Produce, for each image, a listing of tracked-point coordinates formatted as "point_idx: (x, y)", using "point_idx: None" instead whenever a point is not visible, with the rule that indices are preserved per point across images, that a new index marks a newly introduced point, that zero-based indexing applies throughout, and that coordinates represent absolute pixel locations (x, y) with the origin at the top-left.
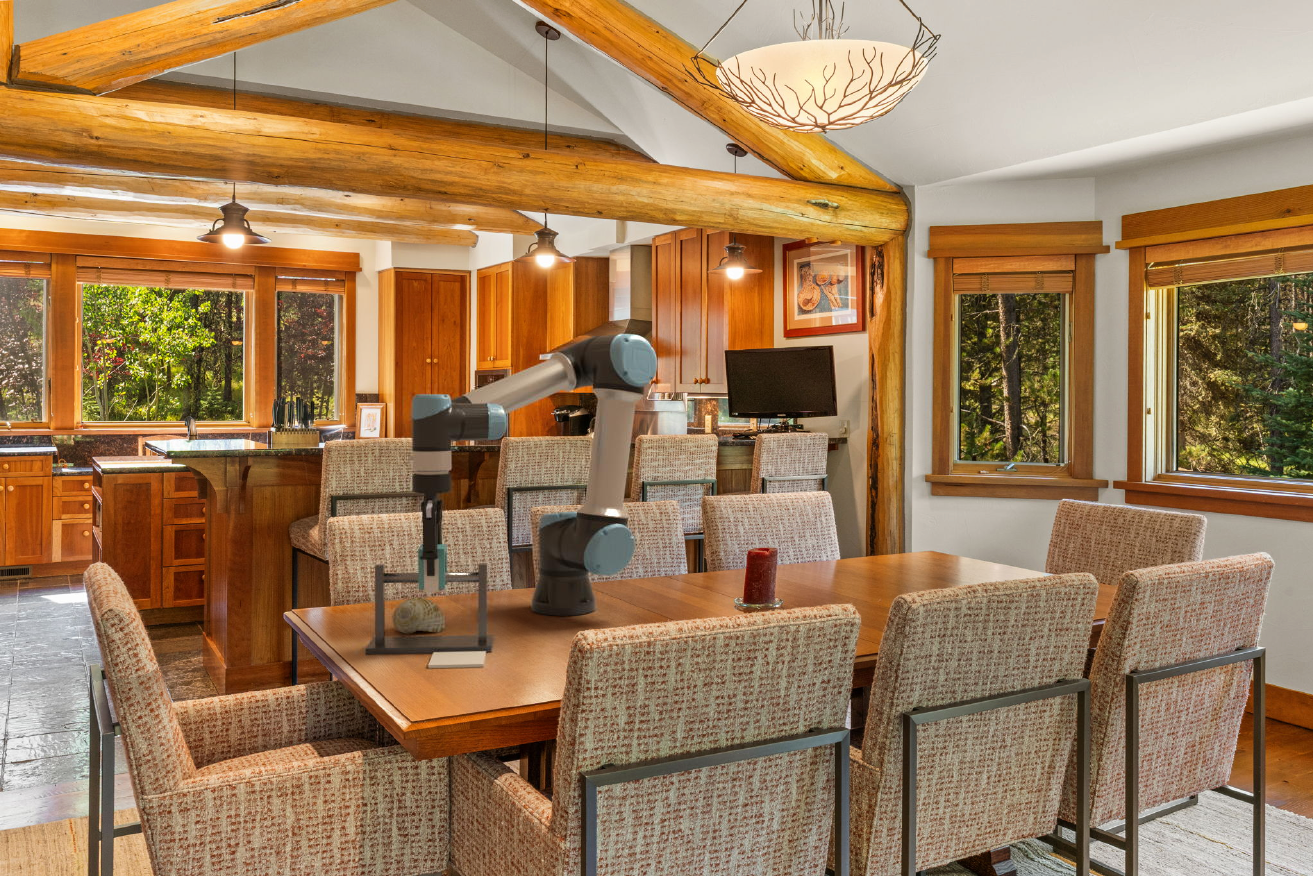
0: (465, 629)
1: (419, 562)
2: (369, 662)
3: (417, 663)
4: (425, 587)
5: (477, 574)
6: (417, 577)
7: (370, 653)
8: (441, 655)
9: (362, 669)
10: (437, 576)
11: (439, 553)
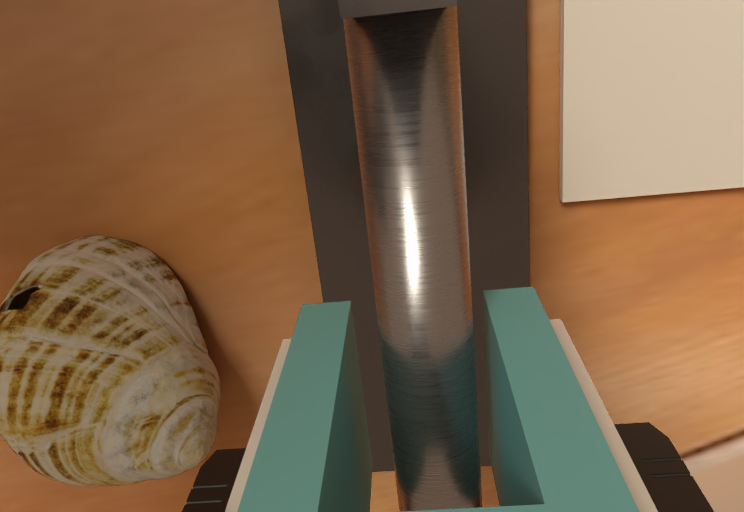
0: (65, 138)
1: None
2: (639, 413)
3: (683, 239)
4: None
5: (443, 19)
6: None
7: None
8: (624, 155)
9: (737, 415)
10: (599, 396)
11: None
